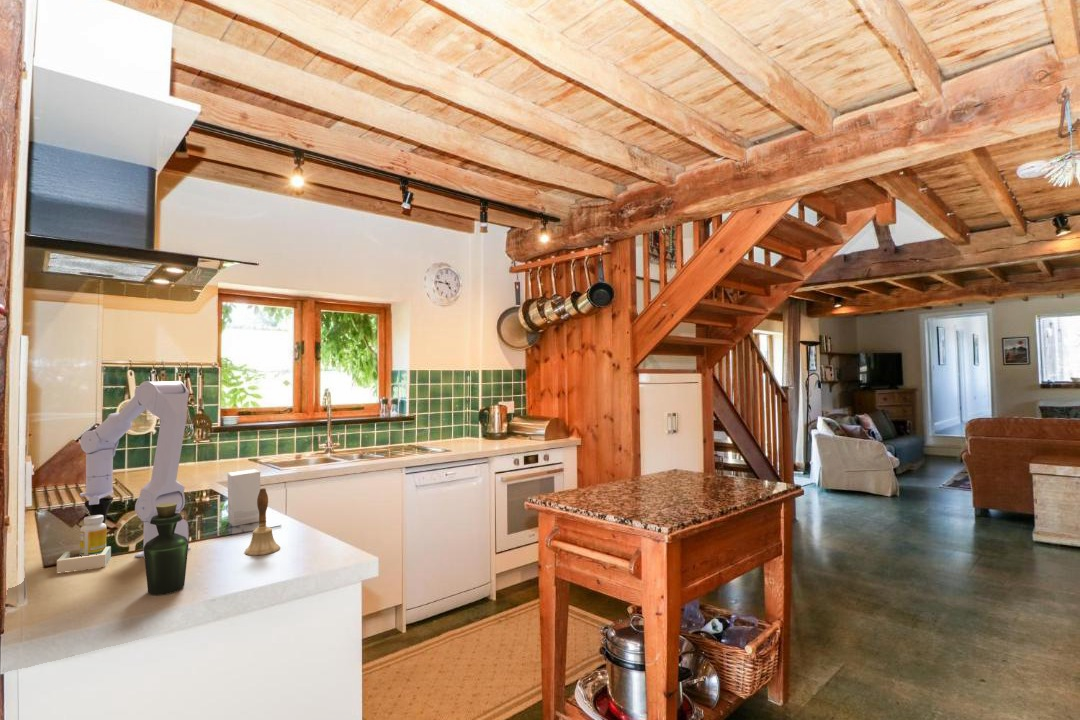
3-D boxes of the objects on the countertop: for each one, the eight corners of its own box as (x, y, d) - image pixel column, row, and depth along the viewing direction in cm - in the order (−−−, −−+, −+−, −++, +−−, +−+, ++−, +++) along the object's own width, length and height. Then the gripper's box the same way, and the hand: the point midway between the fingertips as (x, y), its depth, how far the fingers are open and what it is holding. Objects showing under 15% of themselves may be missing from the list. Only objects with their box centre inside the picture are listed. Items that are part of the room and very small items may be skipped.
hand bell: (240, 550, 148) (241, 488, 148) (274, 543, 153) (275, 484, 154) (248, 558, 142) (249, 493, 142) (284, 551, 147) (284, 489, 147)
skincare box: (256, 517, 181) (256, 468, 181) (261, 522, 176) (261, 471, 176) (226, 522, 175) (226, 471, 176) (231, 527, 170) (231, 474, 170)
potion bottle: (194, 588, 122) (194, 504, 122) (149, 600, 116) (149, 511, 116) (181, 579, 127) (181, 498, 127) (138, 590, 121) (138, 505, 121)
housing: (64, 564, 138) (64, 551, 138) (110, 558, 142) (110, 546, 142) (56, 573, 131) (56, 560, 131) (105, 567, 136) (105, 554, 136)
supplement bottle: (74, 558, 142) (74, 519, 143) (89, 551, 148) (89, 514, 148) (97, 557, 143) (97, 519, 143) (111, 550, 148) (111, 513, 148)
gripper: (86, 472, 157) (85, 522, 156) (74, 481, 144) (73, 535, 144) (118, 470, 160) (117, 518, 160) (108, 478, 147) (108, 531, 147)
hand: (98, 526), depth 152 cm, fingers closed
